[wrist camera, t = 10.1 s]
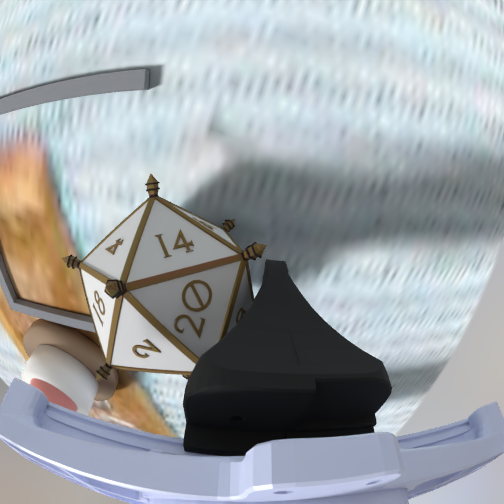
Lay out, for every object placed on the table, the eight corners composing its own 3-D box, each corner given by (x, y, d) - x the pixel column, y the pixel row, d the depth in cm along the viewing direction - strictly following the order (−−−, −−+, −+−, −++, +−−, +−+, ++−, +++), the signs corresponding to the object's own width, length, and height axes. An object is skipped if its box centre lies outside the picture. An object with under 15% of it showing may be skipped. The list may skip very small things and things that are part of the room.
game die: (185, 196, 18) (105, 105, 8) (302, 270, 17) (338, 230, 7) (112, 312, 17) (-9, 315, 7) (218, 394, 16) (156, 487, 6)
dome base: (129, 397, 25) (125, 409, 23) (52, 375, 24) (47, 384, 23) (103, 332, 20) (96, 346, 18) (16, 309, 19) (8, 319, 18)
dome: (107, 400, 22) (93, 442, 18) (51, 381, 22) (34, 418, 18) (84, 355, 19) (61, 406, 15) (24, 336, 19) (-1, 377, 14)
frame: (162, 338, 19) (160, 345, 19) (14, 305, 19) (11, 309, 18) (149, 69, 11) (145, 69, 10) (-30, 111, 10) (-36, 113, 10)
